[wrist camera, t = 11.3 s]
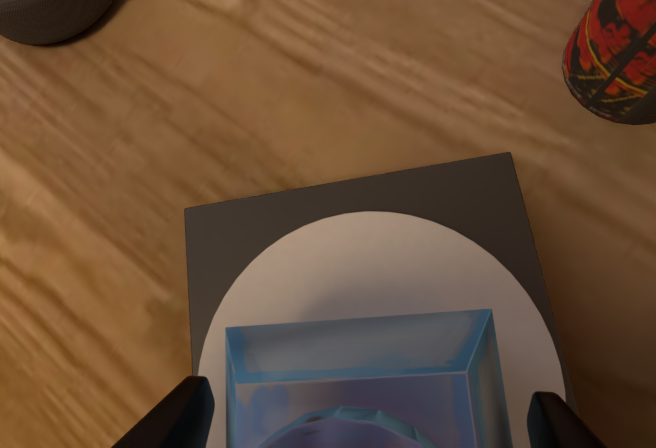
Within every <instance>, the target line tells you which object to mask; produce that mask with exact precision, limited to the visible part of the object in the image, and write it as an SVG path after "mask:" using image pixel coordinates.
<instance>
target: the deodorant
mask: <svg viewBox="0 0 656 448" xmlns="http://www.w3.org/2000/svg"><path fill="white" fill-rule="evenodd" d="M562 68H563V73H564V78H565V82H566V84H567V86H568V87H569V89H570V91H571V93H572V95H573V96H574V97H575V98H576V99H577V100H578V101H579V102H580V103H581V104H582V105H583V106H584V107H585V108H587V109H588V110H590V111H591V112H593V113H594V114H596V115H597V116H599V117H602V118H605V119H608V120H611V121H613V122H616V123H624V124H632V125H638V124H649V123H655V122H656V0H593V2H592V4H591V5H590V7H589V9H588V10H587V12H586V14H585V15H584V17H583V19H582V20H581V22H580V23H579V25H578V27H577V28H576V30H575V32H574V33H573V35H572V37H571V38H570V40H569V42H568V44H567V47H566V49H565V51H564V55H563V63H562Z"/></svg>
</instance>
